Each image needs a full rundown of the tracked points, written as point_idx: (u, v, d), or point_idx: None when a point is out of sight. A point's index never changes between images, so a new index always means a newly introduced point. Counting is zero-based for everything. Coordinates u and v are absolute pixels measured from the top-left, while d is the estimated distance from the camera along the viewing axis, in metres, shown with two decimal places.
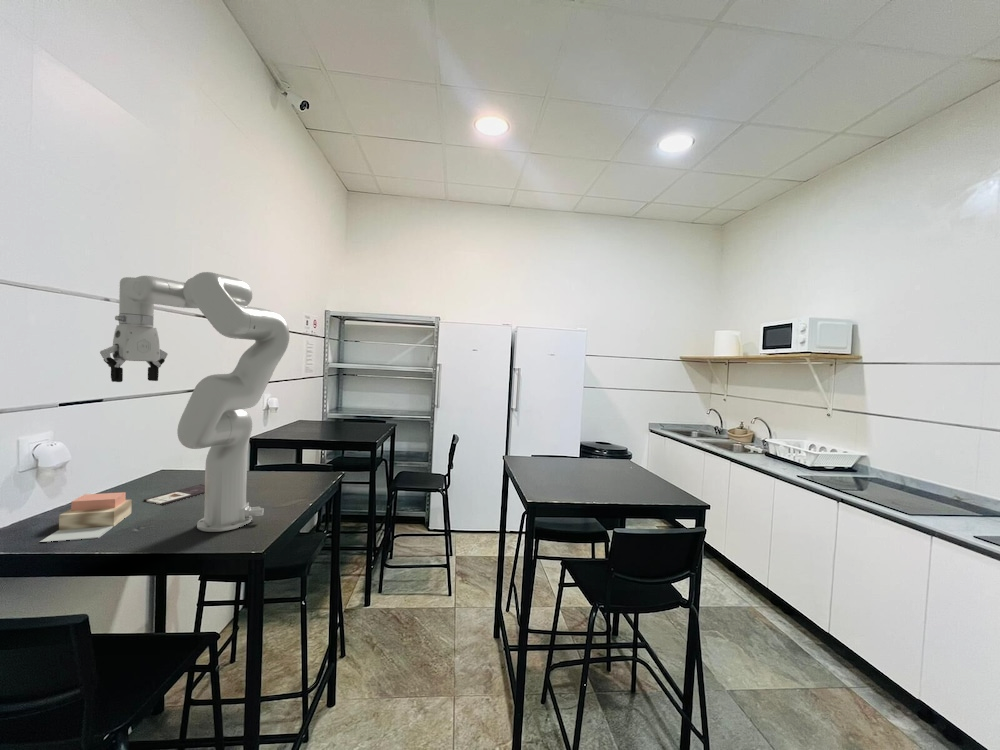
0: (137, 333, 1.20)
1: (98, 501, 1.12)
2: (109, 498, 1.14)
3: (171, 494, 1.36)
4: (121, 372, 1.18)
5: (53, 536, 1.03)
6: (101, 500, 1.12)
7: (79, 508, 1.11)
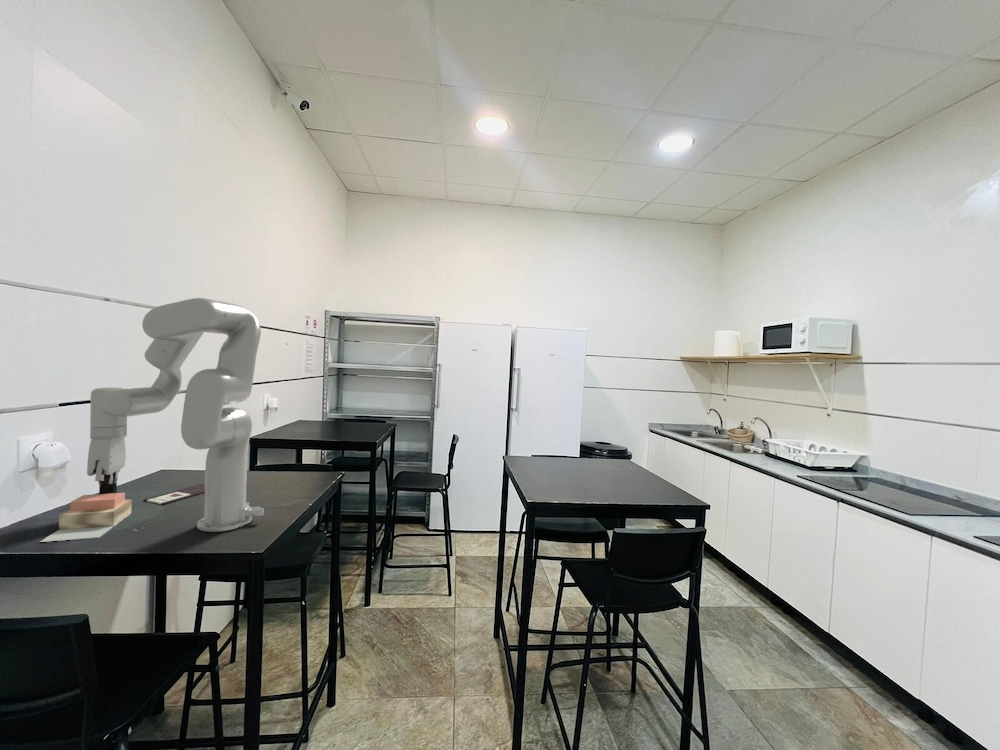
0: None
1: (97, 501, 1.12)
2: (108, 498, 1.13)
3: (171, 494, 1.36)
4: None
5: (53, 536, 1.03)
6: (100, 500, 1.12)
7: (78, 508, 1.10)
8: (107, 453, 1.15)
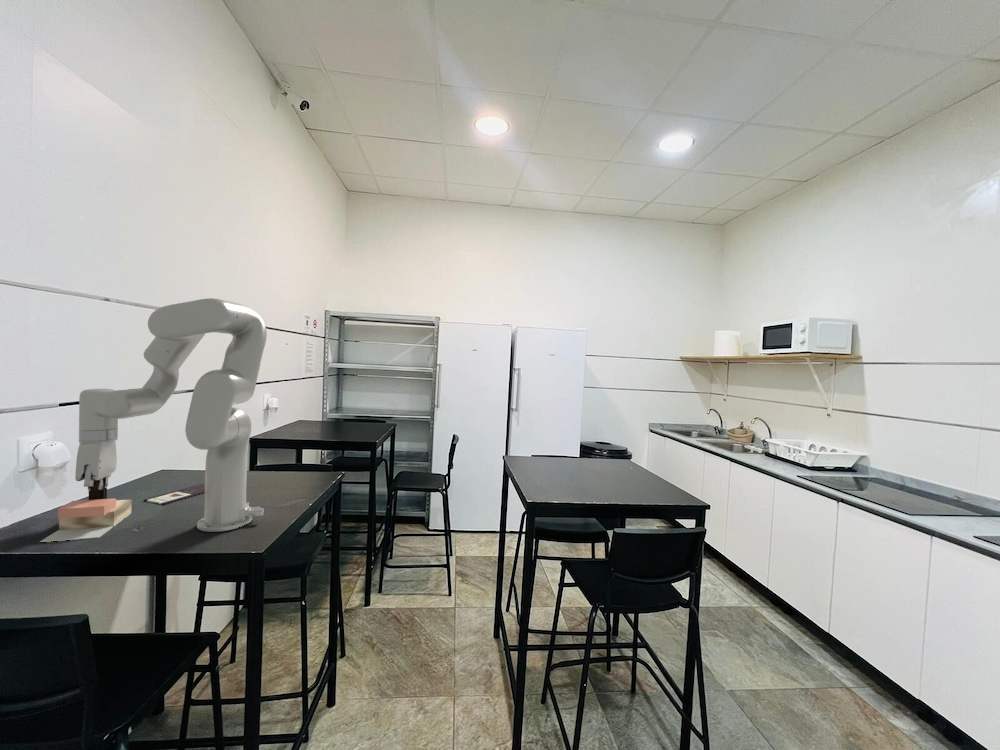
0: None
1: (86, 508, 1.07)
2: (98, 505, 1.08)
3: (171, 494, 1.36)
4: None
5: (53, 536, 1.03)
6: (89, 507, 1.07)
7: (66, 516, 1.06)
8: (97, 457, 1.10)
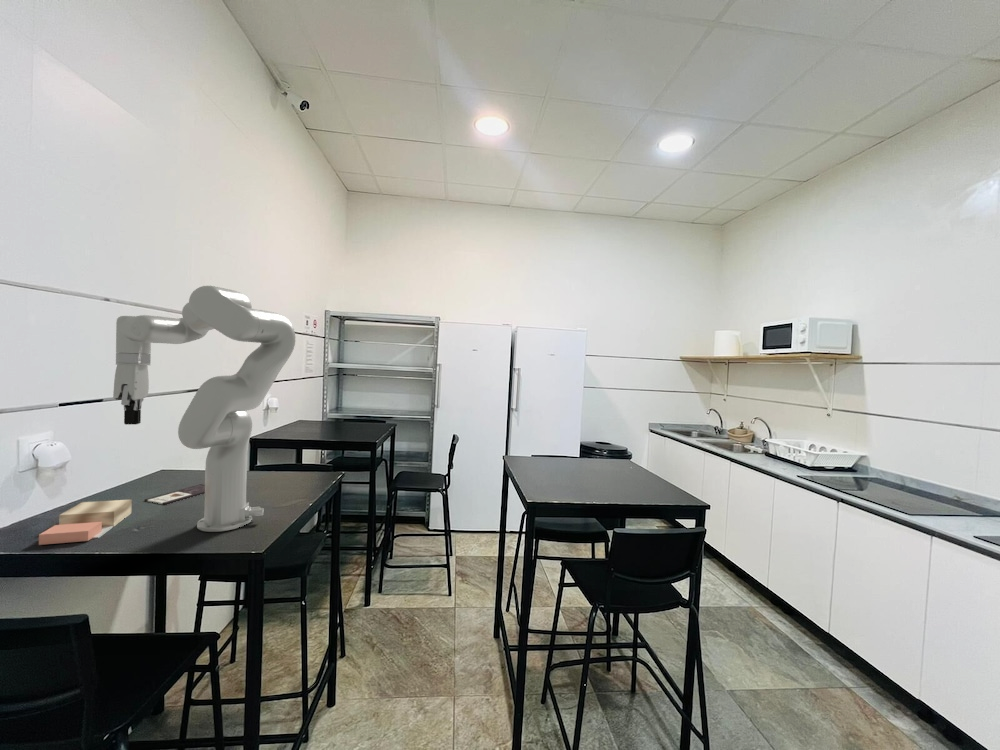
0: None
1: None
2: None
3: (171, 494, 1.36)
4: None
5: None
6: None
7: None
8: (133, 378, 1.18)
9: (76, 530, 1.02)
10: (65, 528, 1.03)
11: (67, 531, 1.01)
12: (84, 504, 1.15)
